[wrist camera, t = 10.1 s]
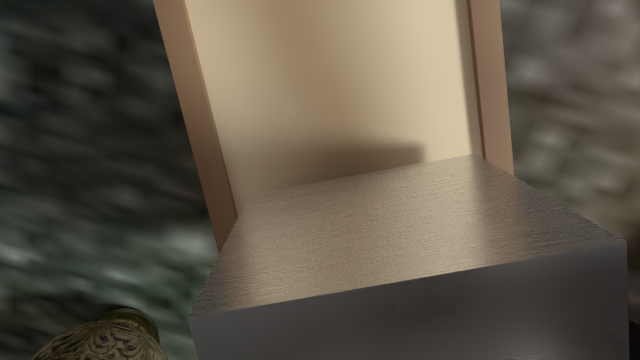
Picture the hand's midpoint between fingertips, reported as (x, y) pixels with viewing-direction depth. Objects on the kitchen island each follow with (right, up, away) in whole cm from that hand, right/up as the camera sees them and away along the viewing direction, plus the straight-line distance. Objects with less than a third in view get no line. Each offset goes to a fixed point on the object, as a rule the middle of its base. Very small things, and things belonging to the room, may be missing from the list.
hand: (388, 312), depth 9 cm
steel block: (0, 0, +1) cm, 2 cm away
